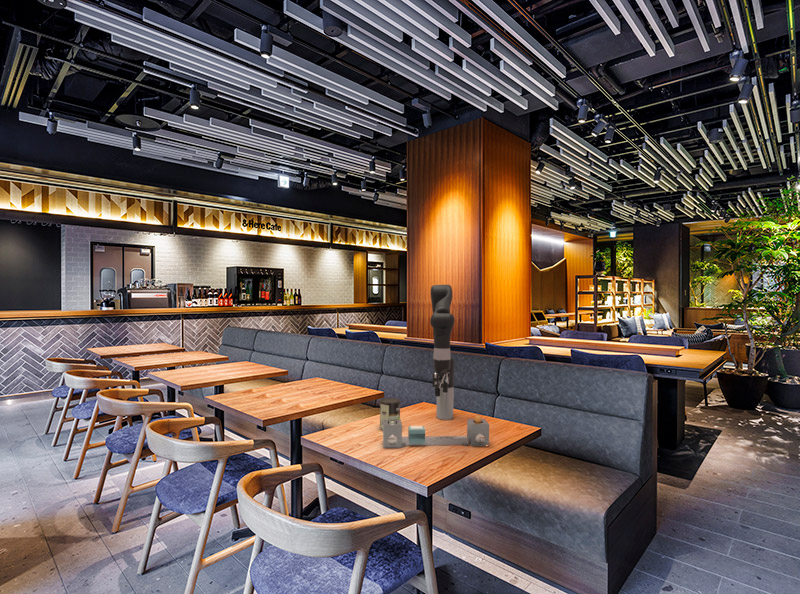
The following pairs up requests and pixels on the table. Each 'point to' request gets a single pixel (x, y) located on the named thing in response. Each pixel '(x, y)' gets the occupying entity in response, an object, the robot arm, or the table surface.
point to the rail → (439, 440)
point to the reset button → (477, 419)
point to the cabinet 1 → (392, 434)
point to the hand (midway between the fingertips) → (441, 394)
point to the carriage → (416, 434)
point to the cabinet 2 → (478, 432)
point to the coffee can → (389, 410)
